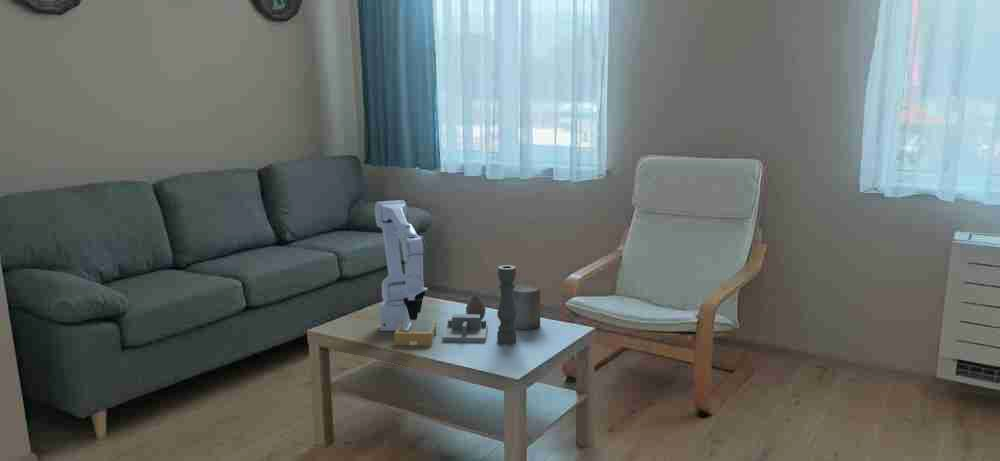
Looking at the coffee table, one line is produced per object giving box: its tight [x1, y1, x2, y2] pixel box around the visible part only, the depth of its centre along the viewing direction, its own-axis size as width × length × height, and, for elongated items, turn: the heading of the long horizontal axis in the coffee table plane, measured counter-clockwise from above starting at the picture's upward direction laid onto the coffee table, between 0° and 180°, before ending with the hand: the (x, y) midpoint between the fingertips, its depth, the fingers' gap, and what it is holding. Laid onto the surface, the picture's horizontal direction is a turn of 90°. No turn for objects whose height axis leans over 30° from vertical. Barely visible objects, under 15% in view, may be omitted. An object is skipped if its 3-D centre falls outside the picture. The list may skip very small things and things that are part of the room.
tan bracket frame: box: [394, 322, 437, 347], centre depth 249 cm, size 11×12×4 cm
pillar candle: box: [513, 283, 541, 331], centre depth 262 cm, size 10×10×15 cm
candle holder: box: [496, 264, 517, 346], centre depth 245 cm, size 6×6×25 cm
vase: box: [465, 295, 486, 322], centre depth 270 cm, size 7×7×9 cm
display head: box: [442, 313, 489, 343], centre depth 253 cm, size 13×14×6 cm
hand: (415, 316), depth 244 cm, fingers open, 7 cm apart
